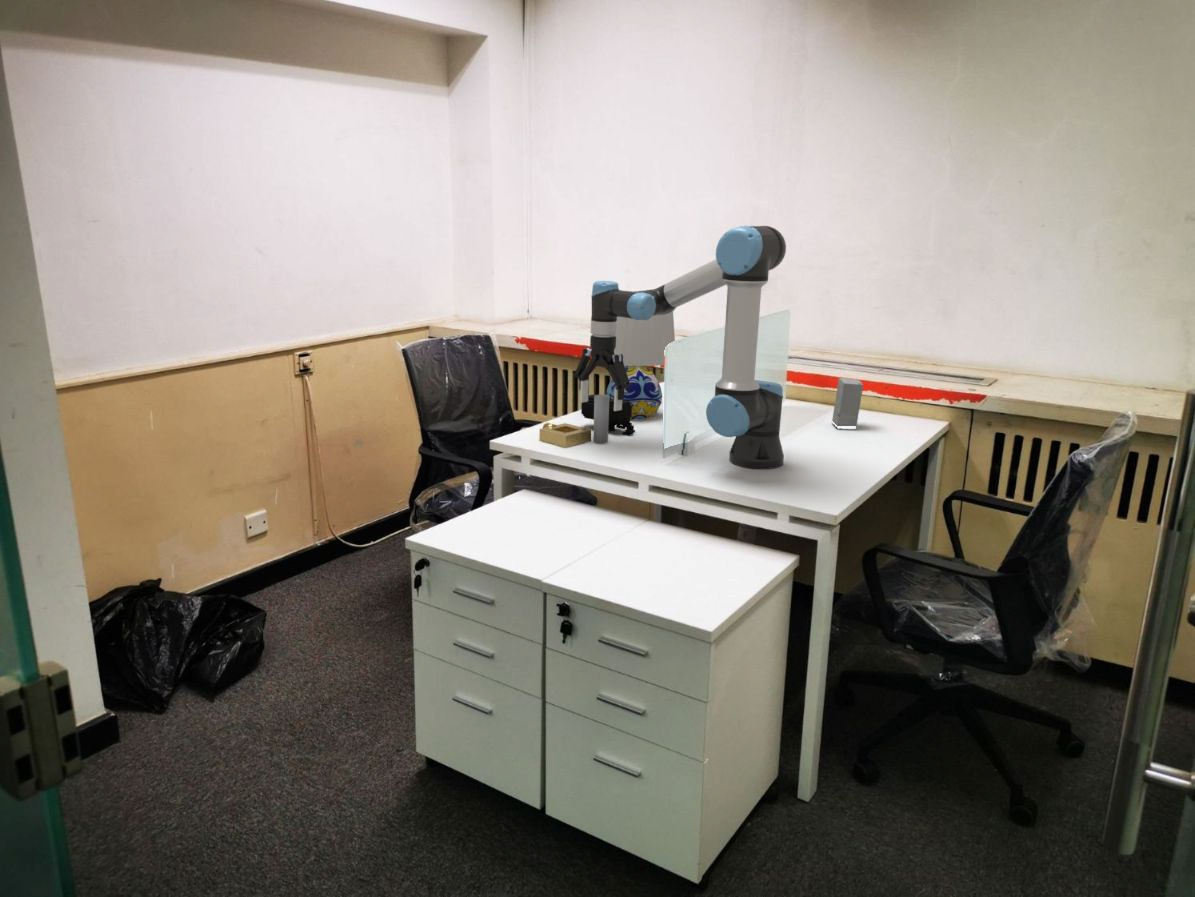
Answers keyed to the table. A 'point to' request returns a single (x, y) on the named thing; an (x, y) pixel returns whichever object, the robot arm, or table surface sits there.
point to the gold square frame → (564, 434)
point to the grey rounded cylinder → (601, 419)
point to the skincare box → (847, 402)
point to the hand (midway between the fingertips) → (600, 406)
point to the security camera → (612, 415)
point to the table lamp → (642, 360)
